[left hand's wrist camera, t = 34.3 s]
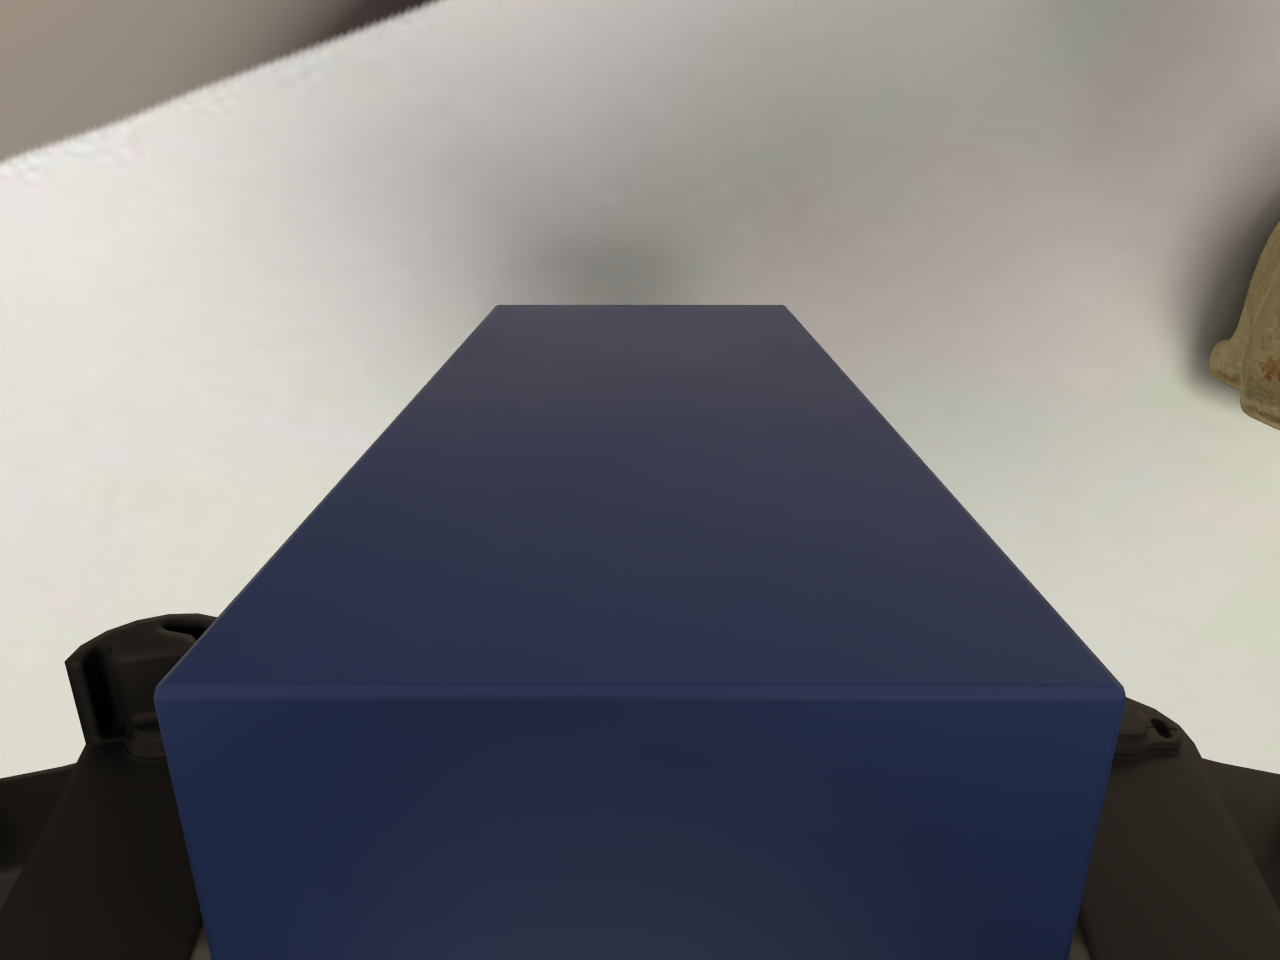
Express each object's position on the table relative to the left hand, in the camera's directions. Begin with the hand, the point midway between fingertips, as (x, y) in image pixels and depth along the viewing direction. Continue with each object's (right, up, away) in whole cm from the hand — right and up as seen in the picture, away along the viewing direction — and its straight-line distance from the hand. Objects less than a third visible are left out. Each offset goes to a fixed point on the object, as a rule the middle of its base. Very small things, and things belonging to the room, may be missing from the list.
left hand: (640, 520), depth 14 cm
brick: (0, +1, +2) cm, 2 cm away
